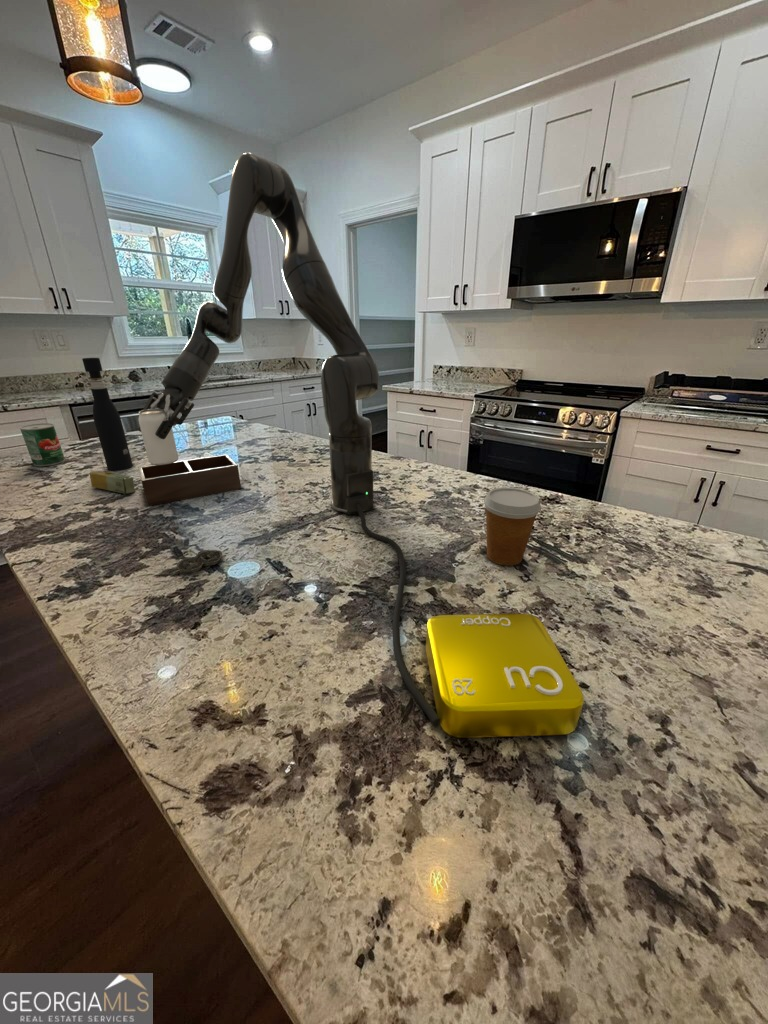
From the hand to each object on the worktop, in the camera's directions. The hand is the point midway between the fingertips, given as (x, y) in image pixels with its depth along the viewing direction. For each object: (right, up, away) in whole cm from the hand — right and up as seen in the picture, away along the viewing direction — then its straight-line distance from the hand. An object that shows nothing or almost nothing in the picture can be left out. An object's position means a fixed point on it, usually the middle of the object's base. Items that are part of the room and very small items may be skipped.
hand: (150, 434), depth 96 cm
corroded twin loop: (+21, -27, -22) cm, 41 cm away
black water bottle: (-23, -5, +26) cm, 35 cm away
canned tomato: (-47, -3, +30) cm, 56 cm away
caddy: (+5, -12, +10) cm, 17 cm away
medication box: (-15, -12, +10) cm, 21 cm away
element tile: (+67, -38, -46) cm, 90 cm away
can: (+1, -6, +4) cm, 7 cm away
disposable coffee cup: (+76, -26, -19) cm, 83 cm away
